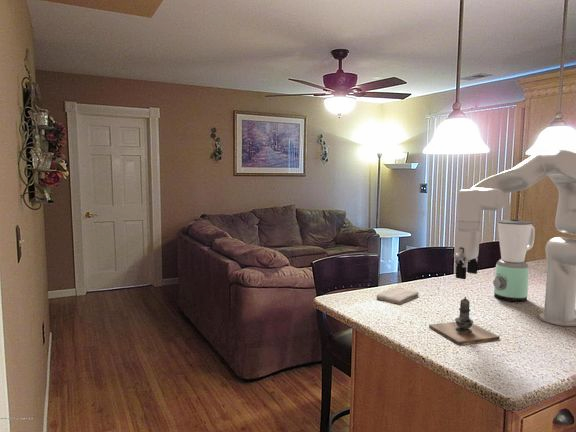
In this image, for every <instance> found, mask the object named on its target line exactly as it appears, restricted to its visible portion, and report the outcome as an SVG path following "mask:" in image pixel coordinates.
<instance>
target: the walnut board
mask: <svg viewBox="0 0 576 432" xmlns="http://www.w3.org/2000/svg"><path fill="white" fill-rule="evenodd" d="M457 327H458V326H457V324H456V321H449V322H441V323H433V324H429V325H428V328H429V329H431V330H433V331H434V332H437V333H438V334H440V335H441V336H443V337H444V338H446V339H448V340H449V341H452V342H453V343H454V344H456V345H458V346H461V345H468V344H474V343H475V344H476V343H485V342H491V341H498V340H500V336H499V335H497V334H495V333H493V332H491V331H489V330H488V329H486V328H483V327H481V326H479V325H477V324H475V323H474V322H473V323H472V326H471V327H470V328H469V329H471V330H472V332H471V333H461V332H458V331H456V328H457Z"/></svg>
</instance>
